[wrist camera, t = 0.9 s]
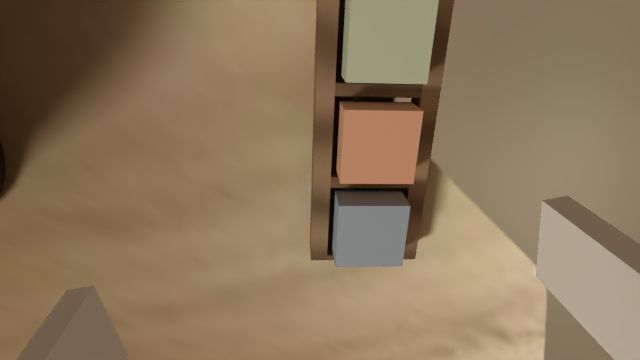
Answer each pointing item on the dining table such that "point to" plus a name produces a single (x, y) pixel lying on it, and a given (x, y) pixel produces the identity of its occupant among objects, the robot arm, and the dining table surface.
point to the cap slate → (369, 228)
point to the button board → (332, 86)
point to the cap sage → (388, 41)
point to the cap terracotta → (378, 142)
